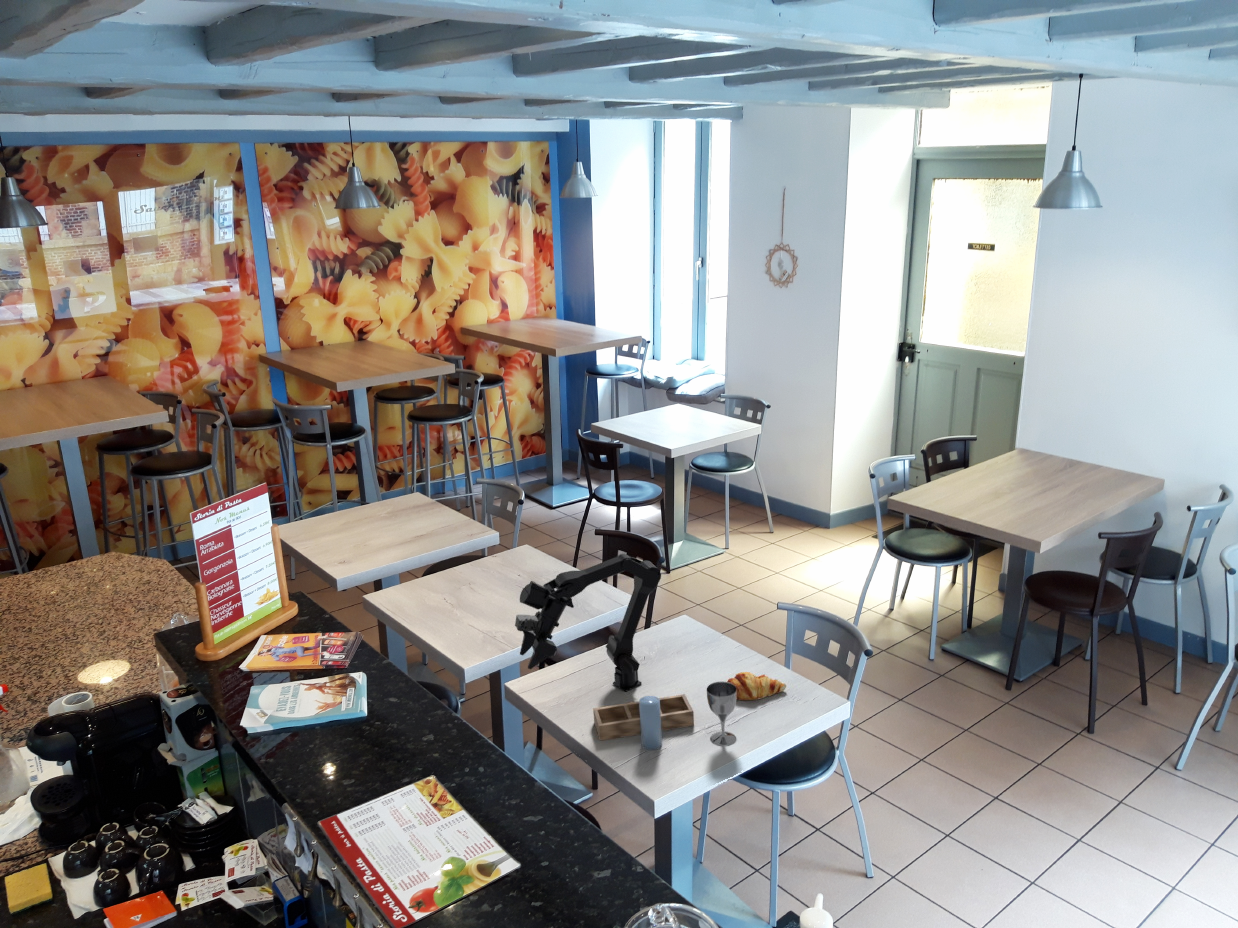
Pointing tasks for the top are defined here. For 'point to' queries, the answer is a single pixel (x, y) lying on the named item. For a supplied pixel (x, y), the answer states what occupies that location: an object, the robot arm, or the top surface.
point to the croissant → (755, 686)
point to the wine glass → (722, 709)
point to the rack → (627, 717)
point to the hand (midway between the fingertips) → (525, 661)
